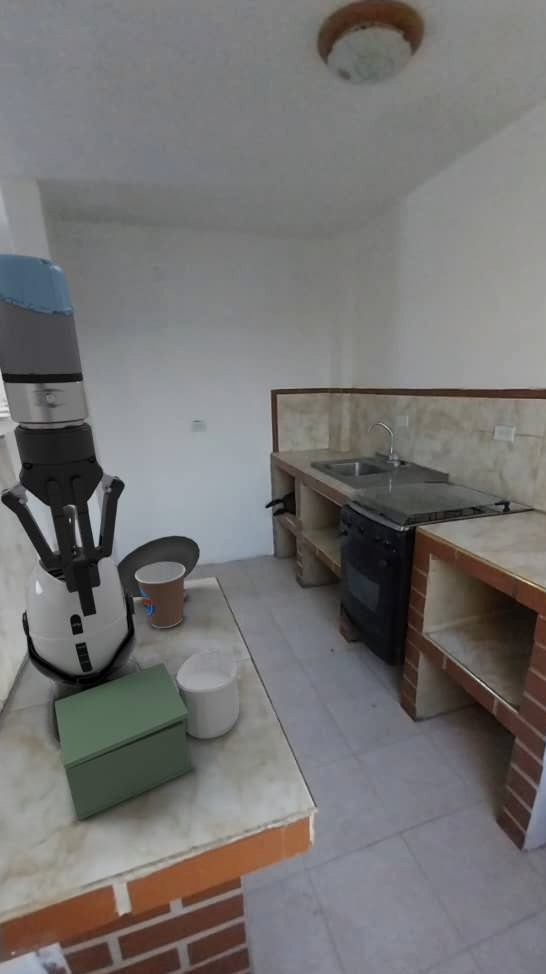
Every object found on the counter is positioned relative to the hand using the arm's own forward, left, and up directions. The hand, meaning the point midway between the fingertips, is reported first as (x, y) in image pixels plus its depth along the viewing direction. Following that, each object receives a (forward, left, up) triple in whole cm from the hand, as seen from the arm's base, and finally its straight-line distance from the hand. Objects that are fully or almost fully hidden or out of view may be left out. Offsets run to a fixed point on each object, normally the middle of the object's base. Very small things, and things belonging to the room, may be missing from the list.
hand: (88, 610), depth 59 cm
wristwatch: (-43, +20, -24) cm, 53 cm away
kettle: (-15, 0, -25) cm, 29 cm away
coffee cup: (-33, +17, -25) cm, 44 cm away
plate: (-40, +18, -16) cm, 47 cm away
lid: (+2, +1, -15) cm, 16 cm away
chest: (+2, +1, -25) cm, 25 cm away
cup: (0, +14, -25) cm, 29 cm away
